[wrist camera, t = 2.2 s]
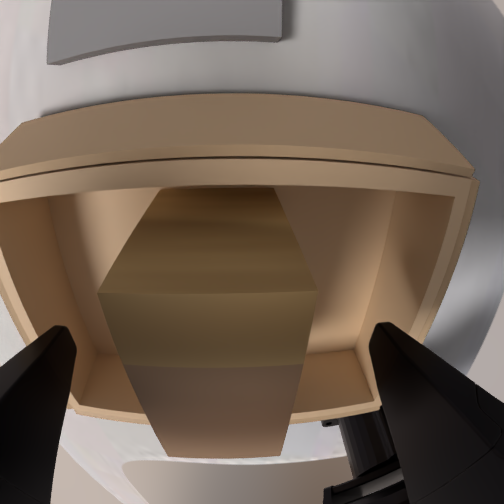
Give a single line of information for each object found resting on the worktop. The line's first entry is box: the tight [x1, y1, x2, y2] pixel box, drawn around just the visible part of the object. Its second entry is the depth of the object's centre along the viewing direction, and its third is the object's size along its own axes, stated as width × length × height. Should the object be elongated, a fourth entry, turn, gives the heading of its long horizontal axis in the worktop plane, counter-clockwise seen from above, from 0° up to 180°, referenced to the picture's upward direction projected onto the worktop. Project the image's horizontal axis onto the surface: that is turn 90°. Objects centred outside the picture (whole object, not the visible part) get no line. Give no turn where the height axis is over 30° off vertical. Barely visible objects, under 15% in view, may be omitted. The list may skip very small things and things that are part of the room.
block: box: [97, 188, 318, 458], centre depth 10 cm, size 8×4×6 cm, turn 179°
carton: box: [0, 93, 480, 425], centre depth 11 cm, size 14×18×4 cm
